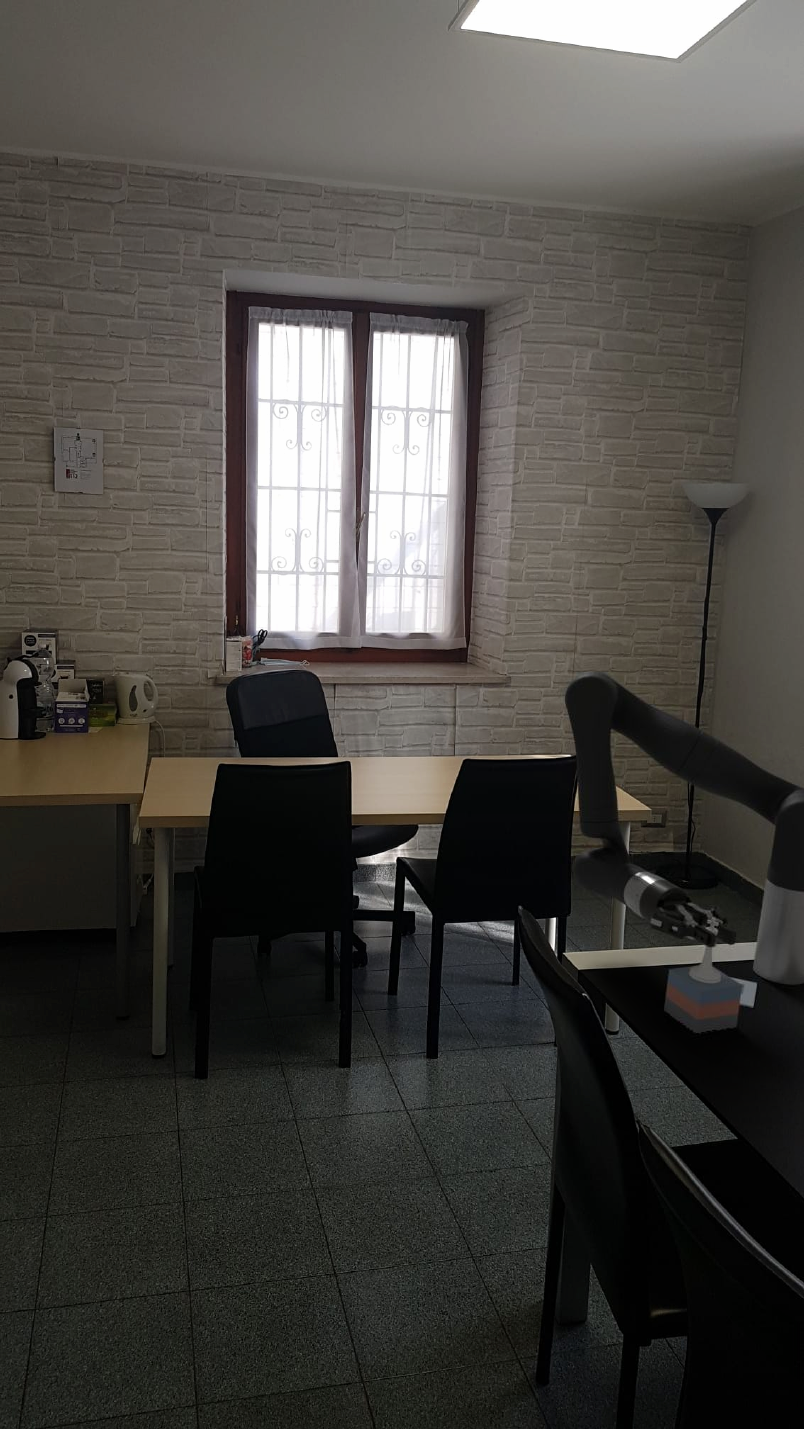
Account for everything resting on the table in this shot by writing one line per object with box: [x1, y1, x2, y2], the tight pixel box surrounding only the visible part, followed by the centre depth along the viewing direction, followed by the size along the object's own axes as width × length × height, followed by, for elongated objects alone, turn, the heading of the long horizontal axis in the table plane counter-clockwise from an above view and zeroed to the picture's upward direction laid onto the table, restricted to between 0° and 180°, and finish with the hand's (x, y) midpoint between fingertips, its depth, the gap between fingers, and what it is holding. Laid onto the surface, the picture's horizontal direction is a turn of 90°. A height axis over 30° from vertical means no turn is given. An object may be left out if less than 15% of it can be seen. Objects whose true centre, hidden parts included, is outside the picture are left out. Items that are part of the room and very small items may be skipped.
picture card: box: [729, 976, 758, 1009], centre depth 183 cm, size 10×7×1 cm
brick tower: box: [663, 965, 742, 1034], centre depth 171 cm, size 8×8×7 cm
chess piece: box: [689, 917, 721, 984], centre depth 169 cm, size 5×5×10 cm
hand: (723, 940), depth 166 cm, fingers open, 3 cm apart
